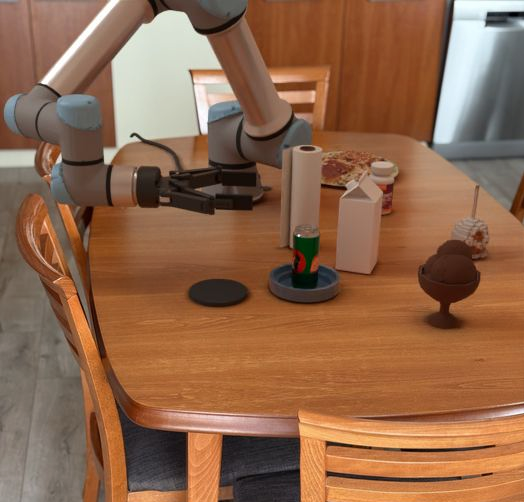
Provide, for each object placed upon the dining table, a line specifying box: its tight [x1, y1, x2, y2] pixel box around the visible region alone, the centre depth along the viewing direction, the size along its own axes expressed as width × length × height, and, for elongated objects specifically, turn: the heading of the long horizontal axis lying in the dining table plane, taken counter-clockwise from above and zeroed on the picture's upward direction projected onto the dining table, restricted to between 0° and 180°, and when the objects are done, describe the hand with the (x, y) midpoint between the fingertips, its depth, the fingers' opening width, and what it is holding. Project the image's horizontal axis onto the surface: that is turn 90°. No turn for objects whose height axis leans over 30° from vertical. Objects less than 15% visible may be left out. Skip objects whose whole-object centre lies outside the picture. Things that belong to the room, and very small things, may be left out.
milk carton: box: [334, 170, 383, 275], centre depth 170 cm, size 7×7×19 cm
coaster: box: [188, 278, 248, 308], centre depth 162 cm, size 11×11×1 cm
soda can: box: [291, 224, 321, 289], centre depth 161 cm, size 5×5×12 cm
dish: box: [268, 262, 342, 303], centre depth 164 cm, size 13×13×3 cm
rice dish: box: [321, 148, 400, 187], centre depth 229 cm, size 28×28×5 cm
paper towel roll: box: [279, 144, 323, 250], centre depth 179 cm, size 7×6×21 cm
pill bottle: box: [368, 162, 395, 216], centre depth 202 cm, size 6×6×11 cm
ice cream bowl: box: [417, 239, 482, 329], centre depth 150 cm, size 11×11×15 cm
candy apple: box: [449, 184, 491, 260], centre depth 178 cm, size 8×8×15 cm
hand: (254, 190), depth 156 cm, fingers open, 13 cm apart
